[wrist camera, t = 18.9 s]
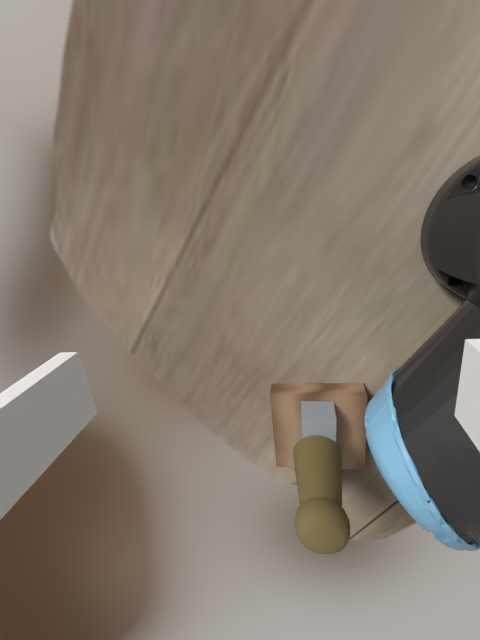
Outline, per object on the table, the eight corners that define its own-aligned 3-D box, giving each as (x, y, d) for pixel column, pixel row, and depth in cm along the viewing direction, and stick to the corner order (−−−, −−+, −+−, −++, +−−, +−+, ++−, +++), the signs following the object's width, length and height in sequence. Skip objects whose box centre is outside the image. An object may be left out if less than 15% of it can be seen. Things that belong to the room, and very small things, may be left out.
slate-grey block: (333, 401, 41) (336, 419, 38) (332, 468, 45) (334, 489, 42) (301, 400, 42) (301, 418, 38) (302, 466, 45) (303, 487, 42)
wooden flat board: (362, 380, 43) (367, 395, 40) (360, 451, 47) (365, 470, 44) (272, 380, 45) (270, 395, 42) (278, 448, 49) (276, 466, 46)
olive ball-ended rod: (308, 479, 42) (311, 571, 31) (283, 445, 40) (277, 529, 30) (351, 464, 40) (369, 556, 29) (326, 428, 38) (336, 511, 28)
